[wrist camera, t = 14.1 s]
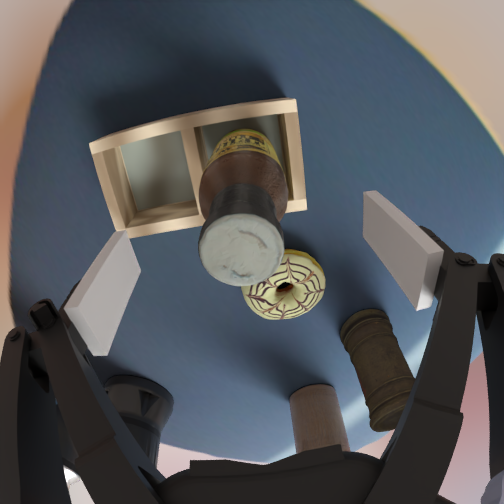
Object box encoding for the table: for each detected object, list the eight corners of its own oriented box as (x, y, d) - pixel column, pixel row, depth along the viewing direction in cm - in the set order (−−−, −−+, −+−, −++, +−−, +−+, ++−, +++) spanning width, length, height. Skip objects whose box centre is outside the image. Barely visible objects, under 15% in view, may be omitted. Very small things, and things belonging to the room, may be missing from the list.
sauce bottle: (259, 117, 29) (292, 160, 12) (282, 169, 32) (334, 277, 15) (202, 141, 30) (153, 221, 13) (227, 191, 33) (218, 319, 16)
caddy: (134, 218, 35) (119, 240, 30) (109, 133, 29) (89, 143, 25) (297, 191, 34) (306, 209, 30) (286, 97, 29) (295, 99, 24)
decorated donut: (226, 279, 41) (225, 297, 37) (284, 227, 37) (289, 242, 34) (278, 317, 45) (281, 335, 41) (334, 274, 41) (342, 291, 38)
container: (352, 305, 44) (392, 403, 28) (397, 310, 45) (442, 396, 30) (330, 344, 48) (357, 437, 33) (373, 346, 50) (406, 429, 34)
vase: (280, 395, 56) (295, 523, 32) (324, 377, 53) (353, 509, 30) (301, 411, 60) (318, 523, 36) (341, 395, 58) (369, 510, 34)
